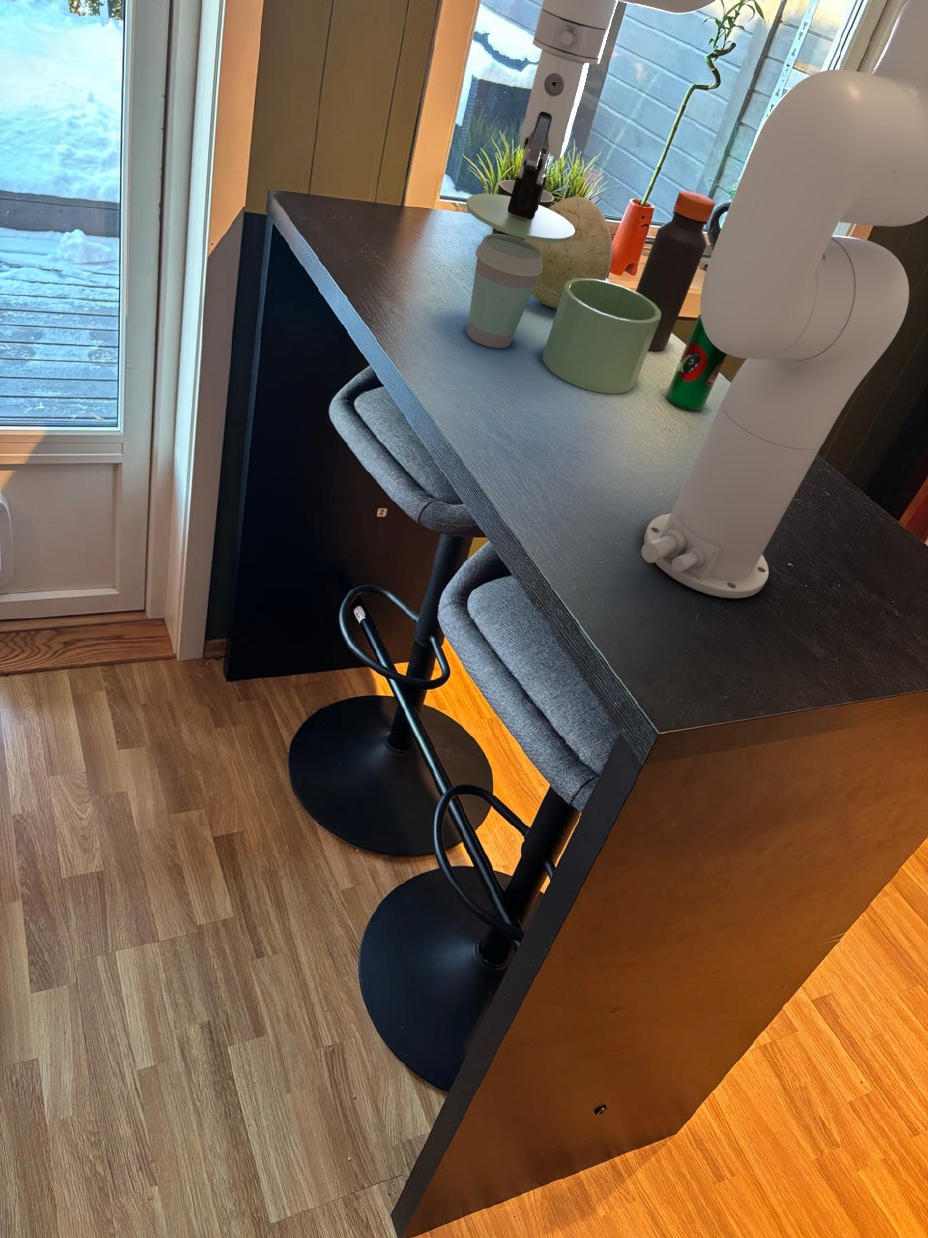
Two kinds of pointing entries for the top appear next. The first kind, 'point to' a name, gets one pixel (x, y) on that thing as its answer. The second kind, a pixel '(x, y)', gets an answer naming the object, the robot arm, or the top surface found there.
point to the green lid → (520, 219)
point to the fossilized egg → (574, 250)
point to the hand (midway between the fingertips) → (522, 210)
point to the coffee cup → (501, 288)
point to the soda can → (696, 370)
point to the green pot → (600, 335)
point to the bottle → (675, 261)
